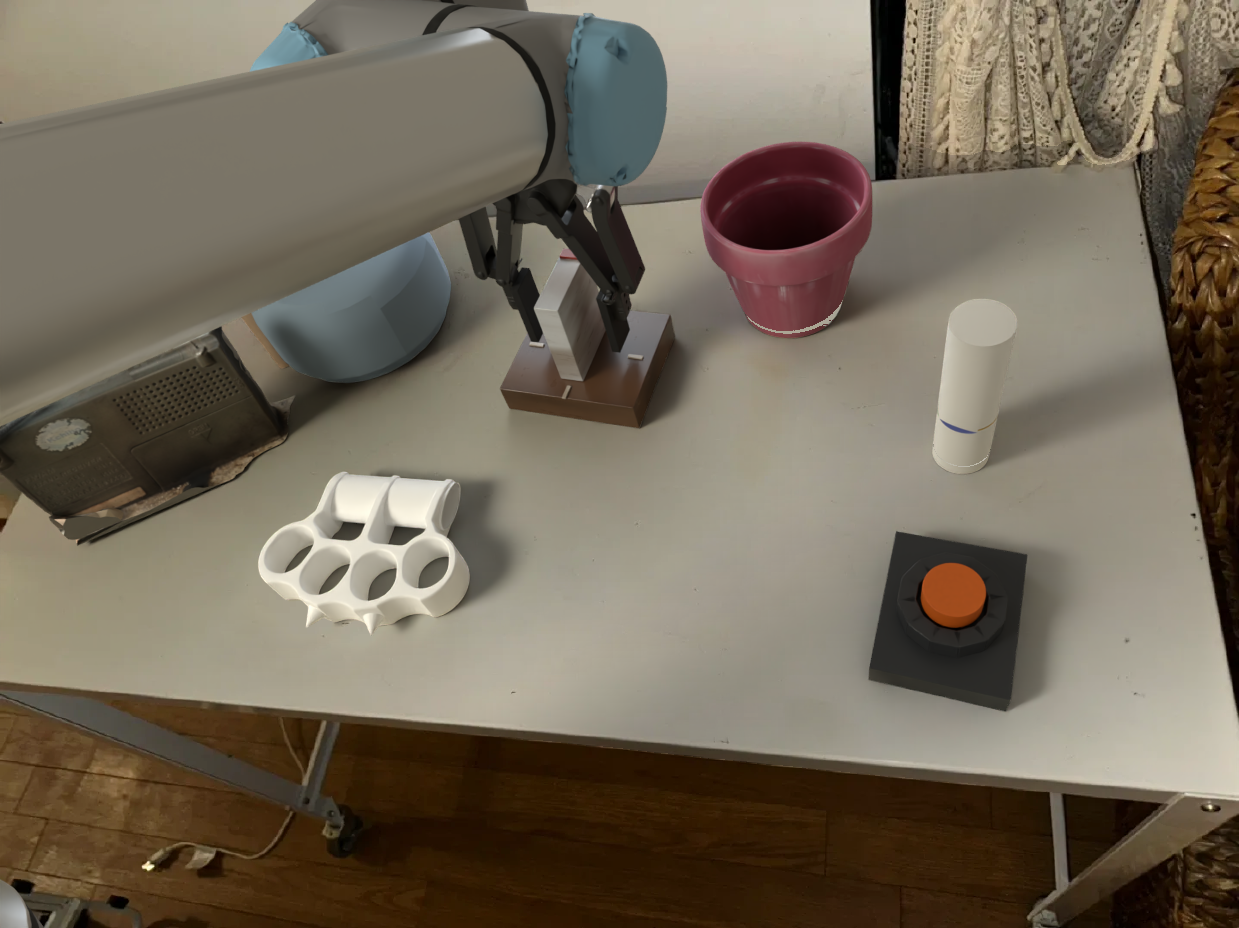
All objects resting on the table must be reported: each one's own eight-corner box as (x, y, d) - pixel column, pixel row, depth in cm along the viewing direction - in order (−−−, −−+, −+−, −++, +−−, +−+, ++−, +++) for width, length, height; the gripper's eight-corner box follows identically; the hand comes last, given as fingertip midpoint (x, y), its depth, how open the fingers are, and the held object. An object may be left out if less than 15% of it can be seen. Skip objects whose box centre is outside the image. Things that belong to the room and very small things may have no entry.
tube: (976, 424, 74) (1001, 291, 62) (998, 466, 72) (1028, 336, 60) (924, 437, 74) (938, 308, 62) (943, 479, 72) (962, 353, 60)
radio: (295, 395, 92) (213, 288, 80) (306, 457, 87) (219, 353, 75) (76, 483, 91) (-41, 389, 79) (73, 552, 86) (-52, 462, 74)
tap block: (639, 429, 81) (632, 407, 78) (508, 409, 85) (498, 388, 83) (675, 335, 86) (670, 312, 84) (551, 321, 91) (542, 298, 88)
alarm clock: (336, 245, 105) (284, 157, 95) (487, 266, 97) (448, 173, 88) (243, 372, 95) (175, 289, 86) (401, 406, 88) (346, 319, 78)
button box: (1006, 712, 61) (1015, 690, 58) (868, 680, 64) (869, 657, 61) (1022, 568, 66) (1031, 541, 63) (894, 545, 69) (897, 518, 66)
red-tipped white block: (583, 381, 81) (556, 308, 74) (560, 378, 82) (532, 306, 74) (608, 323, 85) (586, 248, 77) (587, 321, 85) (562, 246, 78)
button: (979, 633, 61) (982, 622, 59) (916, 620, 62) (918, 609, 61) (986, 581, 63) (989, 568, 61) (925, 569, 64) (927, 557, 63)
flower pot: (740, 243, 92) (726, 133, 81) (883, 256, 87) (888, 141, 76) (698, 350, 85) (677, 245, 74) (851, 371, 80) (852, 262, 69)
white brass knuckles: (498, 496, 80) (447, 653, 72) (319, 483, 85) (253, 628, 77) (486, 475, 77) (431, 636, 69) (301, 462, 82) (231, 611, 74)
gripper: (655, 80, 62) (699, 316, 80) (402, 76, 69) (496, 294, 87) (620, 151, 58) (674, 382, 76) (356, 140, 65) (465, 354, 83)
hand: (580, 335), depth 82 cm, fingers open, 7 cm apart
